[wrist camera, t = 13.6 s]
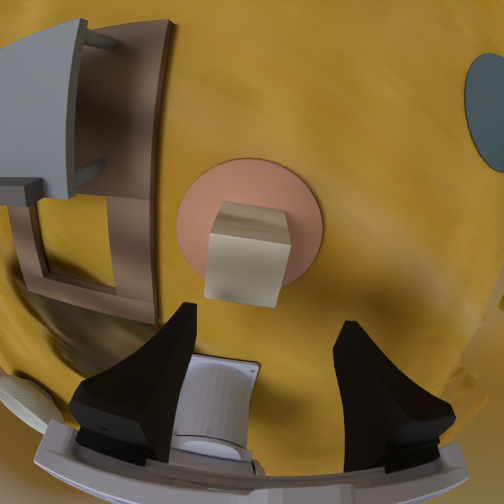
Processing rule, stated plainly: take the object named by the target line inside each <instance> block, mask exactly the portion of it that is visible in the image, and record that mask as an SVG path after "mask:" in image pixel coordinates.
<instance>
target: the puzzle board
mask: <svg viewBox="0 0 504 504" xmlns="http://www.w3.org/2000/svg"><path fill="white" fill-rule="evenodd" d="M172 27H173V23H172V22H171V21H170V20H169V19H167V20H154V21H144V22H135V23H128V24H121V25H115V26H109V27H104V28H99V29H94V30H93V31H96V32H99V33H102V34H105V35H108V36H111V37H114V38H115V39H116V40H117V44H116V46H115V47H114V49H112V50H110V51H106V50H102V49H98V48H94V47H90V46H86V45H83V49H82V55H81V61H80V68H79V76H78V85H77V95H76V107H75V127H74V169H77V168H79V167H81V166H84V165H86V164H88V163H91V162H93V161H95V160H98V159H102V160H103V161H104V162H105V164H106V169H105V171H104V172H103V173H101V174H99V175H97V176H95V177H93V178H91V179H89V180H87V181H85V182H83V183H82V184H80V185H78V186H76V187H75V189H76V193H79V194H91V195H102V196H106V197H107V216H108V229H109V240H110V250H111V259H112V266H113V274H114V281H115V287H116V288H113V287H108V286H104V285H99V284H95V283H90V282H86V281H82V280H78V279H74V278H69V277H65V276H61V275H58V274H54V273H50V272H48V269H47V264H46V260H45V256H44V252H43V247H42V242H41V237H40V232H39V226H38V220H37V213H36V206H35V203H34V204H32V205H30V206H29V207H27V208H24V207H15V206H7V208H8V214H9V219H10V224H11V229H12V234H13V239H14V243H15V247H16V251H17V255H18V259H19V263H20V266H21V270H22V273H23V276H24V280H25V283H26V286H27V289H28V291H31V292H34V293H37V294H40V295H43V296H47V297H50V298H53V299H56V300H59V301H63V302H66V303H70V304H73V305H77V306H80V307H84V308H87V309H91V310H95V311H99V312H102V313H106V314H110V315H114V316H119V317H123V318H127V319H131V320H136V321H140V322H145V323H150V324H154V325H156V322H157V320H158V318H159V316H158V304H157V289H156V270H155V236H154V204H155V170H156V152H157V137H158V125H159V115H160V105H161V96H162V88H163V81H164V74H165V67H166V60H167V54H168V48H169V43H170V37H171V32H172Z"/></svg>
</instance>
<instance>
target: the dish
mask: <svg viewBox="0 0 504 504" xmlns="http://www.w3.org/2000/svg"><path fill="white" fill-rule="evenodd" d="M223 200H224V201H230V202H237V203H244V204H250V205H256V206H263V207H269V208H275V209H281V210H284V211H285V216H286V221H287V226H288V231H289V236H290V242H291V248H290V252H289V256H288V260H287V264H286V268H285V272H284V276H283V280H282V284H281V288H282V287H284V286H286V285H288V284H290V283H292V282H293V281H295V280H296V279H297V278H298V277H300V276H301V275H302V274H303V273H304V272H305V271H306V270H307V269H308V268H309V266H310V265H311V263H312V262H313V261H314V259H315V257H316V255H317V253H318V250H319V247H320V244H321V239H322V218H321V214H320V210H319V207H318V205H317V202H316V200H315V198H314V196H313V195H312V193H311V191H310V189H309V188H308V187H307V185H306V184H305V183H304V182H303V181H302V180H301V179H300V178H299V177H298V176H297V175H296V174H295V173H293V172H292V171H291V170H289V169H288V168H286V167H284V166H282V165H280V164H278V163H275V162H272V161H269V160H265V159H260V158H238V159H233V160H229V161H226V162H223V163H220V164H218V165H216V166H214V167H212V168H210V169H209V170H207V171H206V172H205V173H203V174H202V175H201V176H200V177H199V178H198V179H197V180H196V181H195V182H194V183H193V184H192V186H191V187H190V188H189V189H188V191H187V192H186V194H185V196H184V197H183V199H182V202H181V204H180V207H179V210H178V214H177V223H176V228H177V237H178V242H179V245H180V248H181V251H182V253H183V255H184V257H185V258H186V260H187V261H188V263H189V264H190V266H191V267H192V268H193V269H194V270H195V271H196V272H197V273H198V274H199V275H200V276H201V277H202V278H204V279H206V267H207V255H208V244H209V234H210V230H211V228H212V226H213V223H214V221H215V218H216V216H217V214H218V211H219V209H220V206H221V204H222V202H223Z"/></svg>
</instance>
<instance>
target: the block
mask: <svg viewBox="0 0 504 504" xmlns="http://www.w3.org/2000/svg"><path fill="white" fill-rule="evenodd" d="M290 248H291V242H290V236H289V231H288V226H287V221H286V216H285V211H284V210H281V209H275V208H269V207H263V206H256V205H250V204H244V203H237V202H230V201H224V200H223V202H222V204H221V206H220V209H219V211H218V214H217V216H216V218H215V221H214V223H213V226H212V228H211V230H210V234H209V244H208V255H207V267H206V279H205V293H204V298H210V299H216V300H222V301H228V302H235V303H242V304H249V305H256V306H263V307H270V308H275V307H276V303H277V299H278V295H279V291H280V288H281V284H282V280H283V276H284V272H285V268H286V264H287V260H288V256H289V252H290Z"/></svg>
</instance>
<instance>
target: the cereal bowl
mask: <svg viewBox="0 0 504 504" xmlns="http://www.w3.org/2000/svg"><path fill="white" fill-rule="evenodd" d="M0 400H1V402H3V404H4V405H5V406H6V407H7V408H9V409H10V411H12V412H13V413H14V414H15V415H16V416H18V417H19V418H20V419H21V420H23V421H24V422H25V423H27V424H28V425H29V426H31V427H32V428H34V429H36V430H37V431H39V432H41V433H42V434H45V432H46V429H47V427H48V425H49V423H50V421H51V419H55V420H57V421H59V422H62V423H64V424H65V422H64V419H63V416H62V414H61V412H60V411H59V409H58V408H57V407H56V406H55V404H54V401H53V399H52V398H51V396H50V395H49V394H48V393H47V392H46V391H45V390H43V389H42V388H41V387H40V386H38V385H37V384H36V383H34V382H32V381H31V380H28V379H22V378H20V377H17V376H14V375H4V376H2V377H0Z"/></svg>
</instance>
